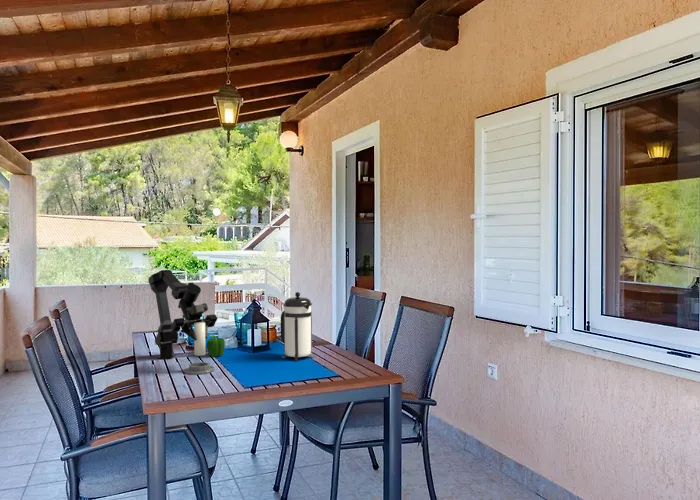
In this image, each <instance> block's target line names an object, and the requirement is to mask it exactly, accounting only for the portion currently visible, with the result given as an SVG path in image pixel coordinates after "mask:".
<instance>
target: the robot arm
mask: <svg viewBox="0 0 700 500" xmlns="http://www.w3.org/2000/svg"><path fill="white" fill-rule="evenodd" d="M148 284H149V286H150V289H151V291H152V292H153V293H154V294H155V297H156V304H157V311H158V317H159V322H160V324H159V327H158V329H157V333H156V334H157V335H156V337H155V339H154V344H155V345H156V346H159V356H157V359H158V360H159V359H160V360H161V359H164V360H165V359H167V360H168V359H173V358H174V357H176V354H174V344H178V341H179V340H178V339H179V332H181V333H184V334H185V335H187V336H189V338H191V339H193V340H197V338H196V335H195V333H194V328H193V326H194V323H197V322H204V323H205V340H207V339H208V328H213V327H215V325H216V322H217V321H218V319H219V318H218V317H217V316H218V315H217V314H216V313H215V314H207V315H206V316H205V317H204V318H202V317H203V314H204V313H205V312H207V311H208V310H209V306H208V304H207V303H206V302H205V303H204V302H203V303H201V304H195V302H197V299H198V297H199V296H200V293H201V292H202V291H201V287H200V286H199V285H197V284H195V283H194V282H188V283H183V282H181V281H180V280H179V279H178V278H177V277H176V276H175V275H174V274H173V271H172V270H171V269H161V270H159V271H158V272H156V273H153V274H151V275H150V276H149V277H148ZM168 287H169V289H171V296H172V298H173V299H174V300H179V302H178V306H177V308H178V309H181V312H182V317H179V318H174V319H173V321H172V318H171V312H170V307H169V306H170V305H169V300H168V296H167V290H168Z"/></svg>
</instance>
